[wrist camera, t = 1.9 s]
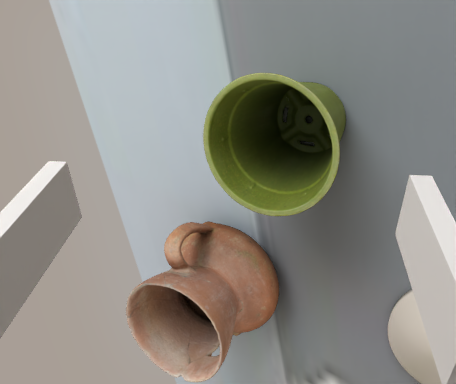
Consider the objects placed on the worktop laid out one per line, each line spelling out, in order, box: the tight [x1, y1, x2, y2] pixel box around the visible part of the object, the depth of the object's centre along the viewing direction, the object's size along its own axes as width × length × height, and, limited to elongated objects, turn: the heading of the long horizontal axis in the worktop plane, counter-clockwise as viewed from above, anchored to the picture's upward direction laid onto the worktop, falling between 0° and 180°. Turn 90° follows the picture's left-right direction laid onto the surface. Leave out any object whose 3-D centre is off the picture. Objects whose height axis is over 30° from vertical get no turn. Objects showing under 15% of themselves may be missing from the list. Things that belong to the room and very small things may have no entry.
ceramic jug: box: [126, 222, 279, 382], centre depth 50 cm, size 18×14×14 cm
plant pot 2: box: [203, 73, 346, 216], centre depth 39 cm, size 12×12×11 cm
